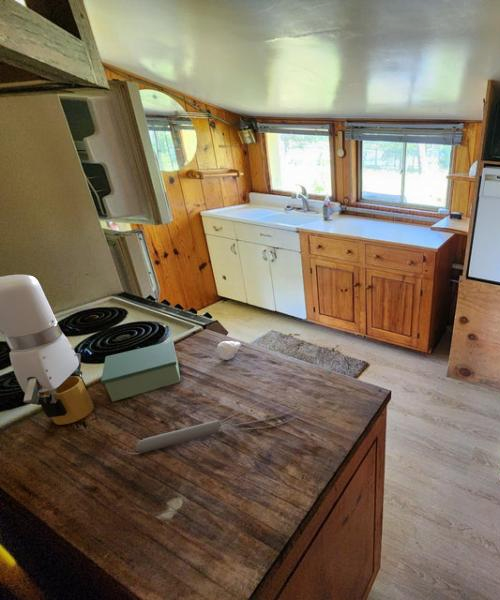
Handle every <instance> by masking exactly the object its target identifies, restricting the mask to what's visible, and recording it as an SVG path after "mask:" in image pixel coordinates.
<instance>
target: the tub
mask: <svg viewBox="0 0 500 600" xmlns="http://www.w3.org/2000/svg"><path fill="white" fill-rule="evenodd" d="M100 382H101V385H104V387H105V389H106V391H107V393H108V395H109V398H110V401H111V402H116V401H120V400H123V399H126V398H130V397H133V396H137V395H140V394H143V393H146V392H151V391H153V390H157V389H160V388H165V387H166V386H167V387H168V386H171V385H175V384H177V383H181V376H180V368H179V361H178V358H177V354H176V349H175V342H174V340H171V341H170V340H169V341H167V342H162V343H157V344H153V345H149V346H145V347H141V348H136V349H132V350H128V351H123V352H120V353H115V354H111V355H106V356H105V358H104V363H103V368H102V374H101V380H100Z"/></svg>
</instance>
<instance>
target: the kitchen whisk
mask: <svg viewBox="0 0 500 600" xmlns="http://www.w3.org/2000/svg"><path fill="white" fill-rule="evenodd" d="M286 397H287V398H292V399H294V400H295V401H286V402H285V401H284V403H283V402H280V403H279V402H278V403H275V404H272V405H268V406H265V407H261V408H257V409H254V410H252V411H248V412H246V413H244V414H241V413H242V412H243V411H246V410H248V409H251V408H253V407H255V406H257V405H260V404H263V403H265V402H269V401H271V400H274V399H275V400H276V399H278V398H286ZM290 404H297V407H296V408H295V409H292V410H290V411H288V412H285V413H281V414H278V415H275V416H270V417H267V418H262V419H257V420H253V421H248V422H242V423H236V424H229V425H224V424H227V423H229V422H233V421H236V420H239V419H242V418H244V417H247V416H251V415H254V414H257V413H260V412H262V411H267V410H269V409H273V408H276V407H277V408H278V407H281V406H286V405H290ZM296 411H297V412H296ZM300 411H301V403H300V401H299V399H297V398H296V397H295V396H292V395H277V396H273V397H270V398H267V399H264V400H261V401H259V402H256V403H254V404H251V405H250V406H247V407H245V408H243V409H241V410H239V411H237V412H235V413H233V414H231V415H229V416H228V417H226V418H224V419H222V420H220V419H216V420H213V421H207V422H205V423H200V424H197V425H193V426H188V427H184V428H181V429H177V430H173V431H169V432H165V433H161V434H157V435H153V436H149V437H145V438H143V439H142V440H140V439H137V440H135V441H133V442H130V443H129V444H128V445H126V448H125V452H126V453H127V454H129V455H141V454H143V453H147V452H152V451H157V450H159V449H162V448H166V447H170V446H174V445H178V444H181V443H185V442H189V441H194V440H197V439H201V438H204V437H209V436H212V435H215V434H220V433H221V431H222V430H225V431H229V430H230V431H232V430H233V431H237V430H239V431H240V430H241V431H242V430H243V431H244V428H227V427H234V426H235V427H236V426H240V425H247V424H253V423H259V422H263V421H268V420H273V419H278V418H281V417H284V416H287V415H290V414H292V413H294V412H296V414H295V415H294V416H293V417H292V418H291V419H289V420H287V421H285V422H282V423H278V424H274V425H268V426H261V427H250V428H247V430H256V429H257V430H259V429H265V428H271V427H276V426H280V425H283V424H286V423H289V422H290V421H292V420H293V419H295V418H296V417H297V416H298V414H299V413H300ZM238 414H241V415H238ZM236 415H238V416H236ZM234 416H235V417H234ZM232 417H233V418H232ZM230 418H231V419H230ZM228 419H229V420H228ZM223 425H224V426H223ZM134 443H136V445H135V449H136V453H135V452H134V453H133V452H129V451H128V447H130V445H132V444H134Z"/></svg>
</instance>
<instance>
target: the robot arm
mask: <svg viewBox="0 0 500 600" xmlns="http://www.w3.org/2000/svg"><path fill="white" fill-rule="evenodd" d="M0 333H1V334H2V337H3V338H4V340H5V342H6V343H7V346H8V347H9V349H10V352H9V353H8V354H9V360H10V364H11V367H12V370H13V372H14V376H15V378H16V381H17V382H18V385H19V386H20V388H21V390H22V391H23V393H24V396H23V403H25V404H31V405H36V406H41V408H42V410H43V412H44V413H45V415H46V417H47V418H51V417H57V416H64V415H66V414H67V411H66V409H65V407H64V405H63V403H62V401H61V400H60V399H58V400H57V391H56V388H57V387H58V386H59V385H61V384H62V383H63V382H64V381H65V380H66V379H67V378H68V377H69V376H78V377H80V378H81V379H82V381H83V383H84V385H85V388H86V390H87V391H88V387H87V385H86V382H85V381H84V378H83V377H82V376H83V371H81V369H82V368H81V367H82V363H81V360H82V354H81V353H78V352H75V349H74V348H73V346H72V345H71V343H70V340H68V338H67V337H66V335H65V334H64V333H63V331H62V329H61V327H60V325H59V322H58V321H57V318H56V316H55V314H54V312H53V309H52V308H51V305H50V303H49V301H48V299H47V297H46V294H45V292H44V290H43V288H42V286H41V284H40V281H39V280H38V279H37V278H36V277H34V276H32V275H29V274H10V275H3V276H0ZM42 387H44V388H45V389H42ZM44 392H49V397H44Z"/></svg>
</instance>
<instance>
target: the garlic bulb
mask: <svg viewBox="0 0 500 600" xmlns="http://www.w3.org/2000/svg"><path fill="white" fill-rule="evenodd" d="M241 346H242V344H241V343H240V342H239V341H233V340H224V341H221V342H219V343H218V345H217V347H216V352H217V354H218V356H219V357H220V359H221V358H222V359H223V360H226V361H229V360H232V359H233V358H234V357H235V356H236V354H237V352H238V351H239V349H240V347H241Z"/></svg>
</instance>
